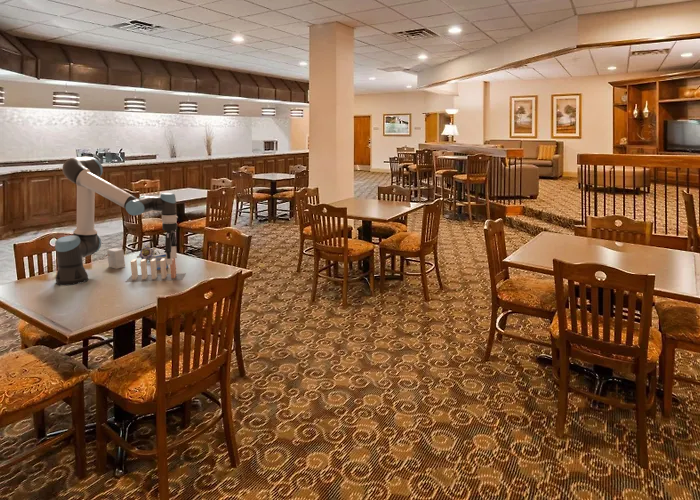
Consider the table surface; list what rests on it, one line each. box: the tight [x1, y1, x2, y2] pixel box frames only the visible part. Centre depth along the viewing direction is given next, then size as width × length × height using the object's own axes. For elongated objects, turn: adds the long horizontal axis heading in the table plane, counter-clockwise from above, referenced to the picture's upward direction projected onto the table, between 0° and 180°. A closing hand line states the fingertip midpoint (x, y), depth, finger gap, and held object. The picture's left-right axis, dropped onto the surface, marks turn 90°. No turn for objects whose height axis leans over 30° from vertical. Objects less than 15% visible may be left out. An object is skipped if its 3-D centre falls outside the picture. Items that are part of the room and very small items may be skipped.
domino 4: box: [160, 258, 168, 279], centre depth 274 cm, size 2×5×10 cm, turn 9°
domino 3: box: [149, 259, 158, 279], centre depth 273 cm, size 2×5×10 cm, turn 9°
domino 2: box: [140, 258, 149, 279], centre depth 272 cm, size 2×5×10 cm, turn 9°
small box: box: [106, 247, 126, 270], centre depth 296 cm, size 8×6×10 cm
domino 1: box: [130, 258, 139, 280], centre depth 271 cm, size 2×5×10 cm, turn 9°
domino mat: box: [125, 273, 187, 283], centre depth 274 cm, size 29×13×1 cm, turn 99°
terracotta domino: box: [169, 258, 177, 278], centre depth 274 cm, size 2×5×10 cm, turn 9°
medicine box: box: [151, 252, 169, 271], centre depth 292 cm, size 8×4×9 cm, turn 143°
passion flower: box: [136, 245, 161, 264], centre depth 309 cm, size 11×11×12 cm
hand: (171, 261), depth 274 cm, fingers open, 13 cm apart
